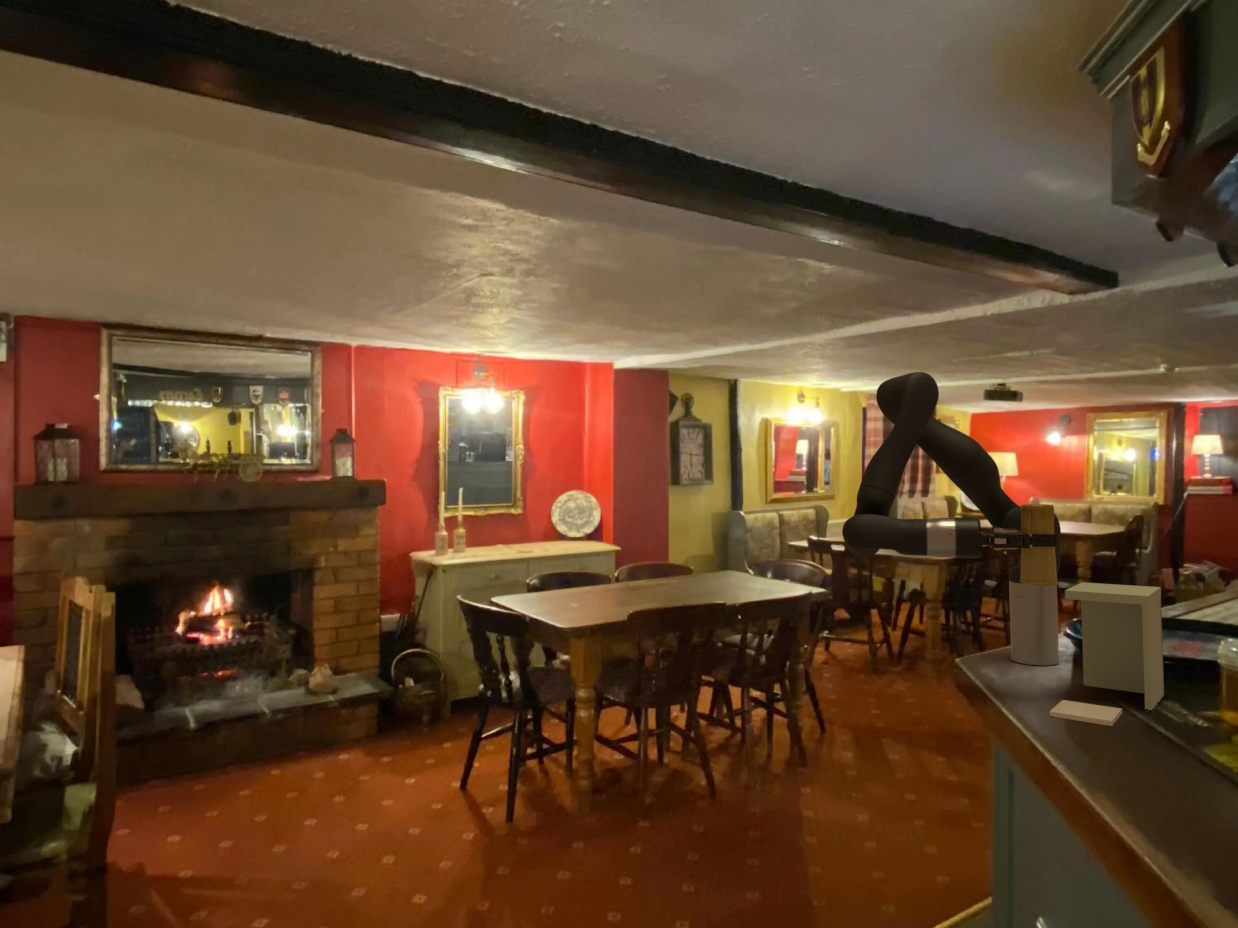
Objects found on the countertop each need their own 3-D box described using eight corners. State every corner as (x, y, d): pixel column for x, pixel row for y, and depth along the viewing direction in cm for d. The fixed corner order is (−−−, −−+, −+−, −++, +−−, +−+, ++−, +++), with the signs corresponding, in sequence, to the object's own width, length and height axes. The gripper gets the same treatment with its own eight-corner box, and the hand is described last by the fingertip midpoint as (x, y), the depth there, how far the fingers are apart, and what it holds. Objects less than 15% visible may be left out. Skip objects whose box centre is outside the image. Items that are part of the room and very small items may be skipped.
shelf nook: (1085, 683, 155) (1082, 582, 156) (1164, 694, 147) (1160, 587, 147) (1067, 699, 145) (1064, 590, 145) (1152, 711, 136) (1148, 596, 137)
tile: (1062, 704, 142) (1062, 699, 142) (1122, 713, 136) (1122, 708, 136) (1049, 716, 135) (1049, 711, 135) (1111, 726, 129) (1111, 720, 129)
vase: (1063, 583, 146) (1062, 504, 147) (1047, 586, 143) (1046, 505, 143) (1030, 580, 151) (1028, 503, 151) (1013, 582, 148) (1012, 504, 148)
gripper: (953, 519, 146) (1059, 520, 140) (951, 515, 159) (1048, 516, 153) (954, 561, 146) (1060, 564, 139) (952, 554, 159) (1049, 556, 153)
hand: (1053, 539), depth 146 cm, fingers closed on vase, 5 cm apart
